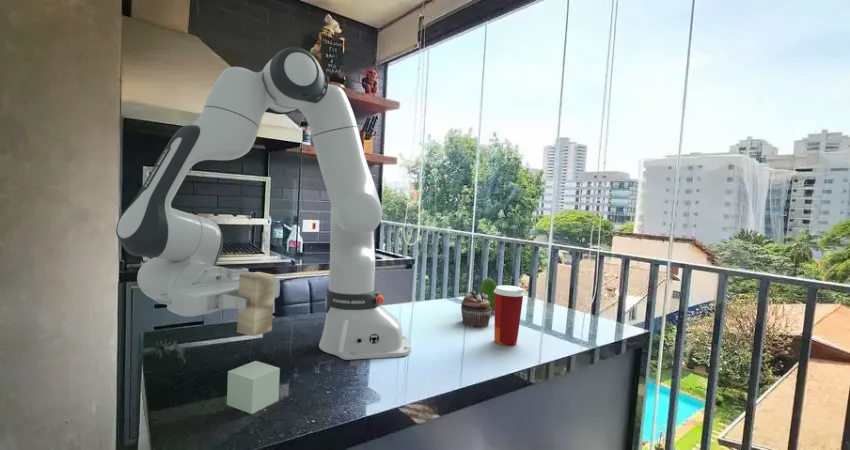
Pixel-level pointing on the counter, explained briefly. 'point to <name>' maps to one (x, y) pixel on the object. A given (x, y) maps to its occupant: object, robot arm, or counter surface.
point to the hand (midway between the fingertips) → (259, 301)
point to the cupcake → (476, 310)
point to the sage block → (253, 386)
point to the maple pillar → (256, 303)
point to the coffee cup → (507, 314)
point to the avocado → (489, 291)
